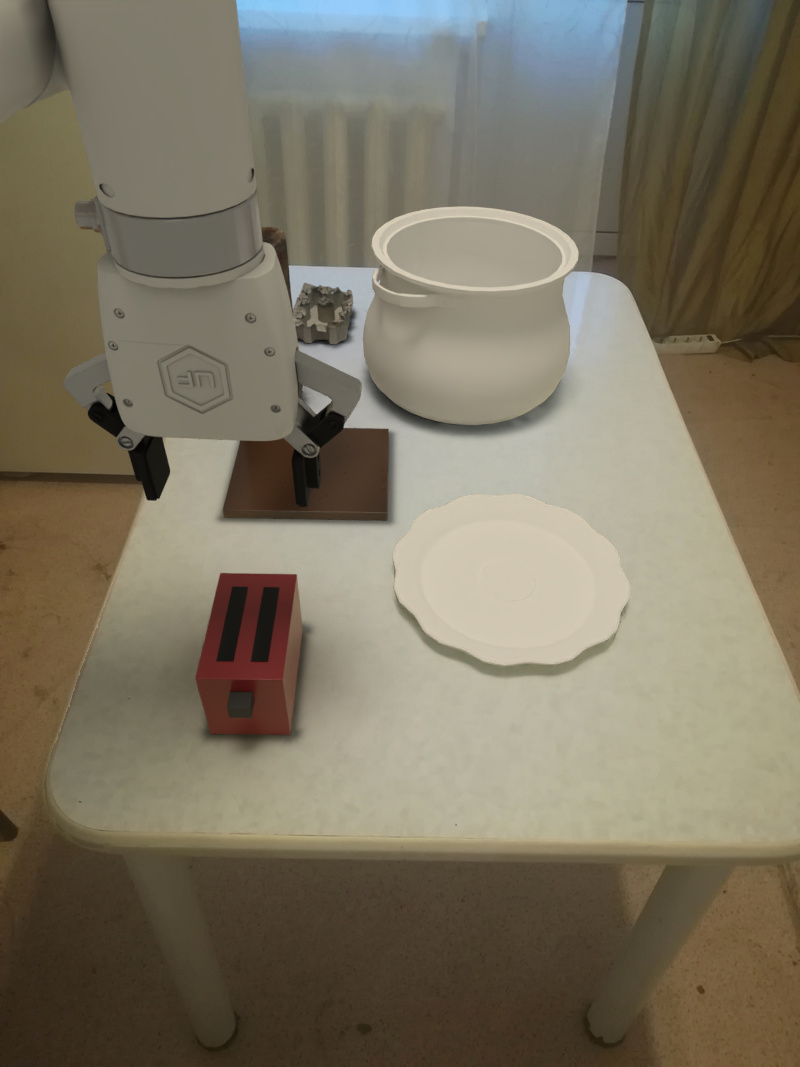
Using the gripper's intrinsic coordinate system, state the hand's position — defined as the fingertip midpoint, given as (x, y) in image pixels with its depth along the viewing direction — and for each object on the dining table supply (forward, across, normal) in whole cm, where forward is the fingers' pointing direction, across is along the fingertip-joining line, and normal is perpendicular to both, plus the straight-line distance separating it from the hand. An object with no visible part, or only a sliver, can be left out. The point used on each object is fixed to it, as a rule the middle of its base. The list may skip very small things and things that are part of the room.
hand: (232, 490), depth 49 cm
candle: (+18, -6, +36) cm, 41 cm away
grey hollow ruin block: (+18, -2, +56) cm, 58 cm away
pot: (+18, +17, +44) cm, 50 cm away
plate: (+18, +21, +10) cm, 29 cm away
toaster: (+18, 0, -2) cm, 18 cm away
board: (+18, +1, +24) cm, 30 cm away
